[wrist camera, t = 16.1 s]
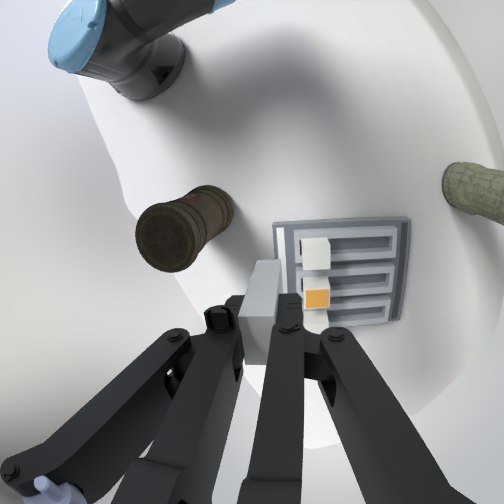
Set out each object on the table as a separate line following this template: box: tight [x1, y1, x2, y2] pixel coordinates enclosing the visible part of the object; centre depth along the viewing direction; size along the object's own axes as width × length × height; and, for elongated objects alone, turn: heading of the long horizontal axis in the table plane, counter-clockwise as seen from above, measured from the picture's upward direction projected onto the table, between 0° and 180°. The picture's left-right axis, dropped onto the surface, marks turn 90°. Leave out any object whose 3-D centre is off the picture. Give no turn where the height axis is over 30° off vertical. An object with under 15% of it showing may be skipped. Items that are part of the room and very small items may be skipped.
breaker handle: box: [303, 276, 330, 309], centre depth 43 cm, size 4×4×7 cm
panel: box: [272, 217, 411, 334], centre depth 43 cm, size 20×24×9 cm
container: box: [135, 185, 234, 273], centre depth 39 cm, size 9×9×18 cm
